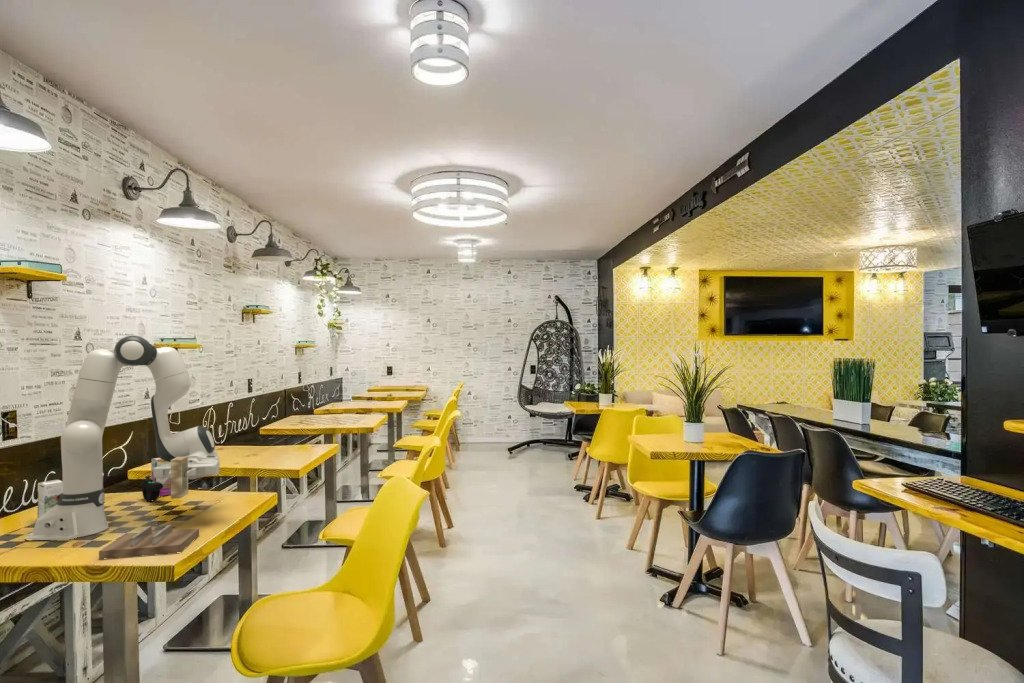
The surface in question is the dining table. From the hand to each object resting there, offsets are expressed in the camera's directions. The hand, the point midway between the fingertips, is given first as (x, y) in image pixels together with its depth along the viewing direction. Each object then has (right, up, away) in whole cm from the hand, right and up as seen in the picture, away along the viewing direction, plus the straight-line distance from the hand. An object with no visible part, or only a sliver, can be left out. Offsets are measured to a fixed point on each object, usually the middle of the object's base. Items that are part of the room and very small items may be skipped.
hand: (178, 474), depth 186 cm
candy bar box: (-36, -22, +51) cm, 67 cm away
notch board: (0, -20, -14) cm, 24 cm away
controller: (-36, -21, +41) cm, 59 cm away
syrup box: (-58, -21, +16) cm, 64 cm away
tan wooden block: (0, -8, +1) cm, 8 cm away
